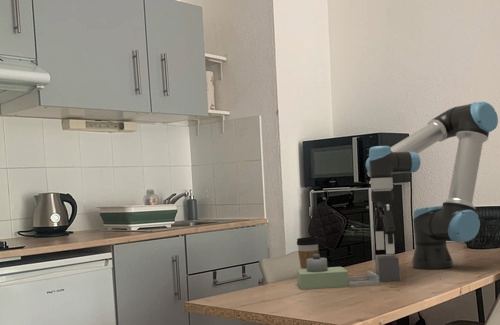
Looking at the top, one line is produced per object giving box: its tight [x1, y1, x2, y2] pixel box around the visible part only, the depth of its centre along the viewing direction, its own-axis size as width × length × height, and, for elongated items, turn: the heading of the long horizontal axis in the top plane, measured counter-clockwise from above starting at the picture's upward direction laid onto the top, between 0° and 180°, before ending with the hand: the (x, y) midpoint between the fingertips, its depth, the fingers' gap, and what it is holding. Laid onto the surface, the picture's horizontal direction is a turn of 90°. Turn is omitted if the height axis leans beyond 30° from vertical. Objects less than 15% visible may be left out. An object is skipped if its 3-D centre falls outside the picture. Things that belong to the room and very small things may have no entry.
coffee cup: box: [296, 236, 320, 269], centre depth 212 cm, size 8×8×15 cm
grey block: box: [374, 253, 401, 283], centre depth 195 cm, size 7×4×9 cm, turn 91°
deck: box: [296, 253, 350, 291], centre depth 193 cm, size 16×12×11 cm
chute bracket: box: [348, 270, 381, 288], centre depth 193 cm, size 10×13×3 cm
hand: (385, 251), depth 195 cm, fingers open, 13 cm apart
